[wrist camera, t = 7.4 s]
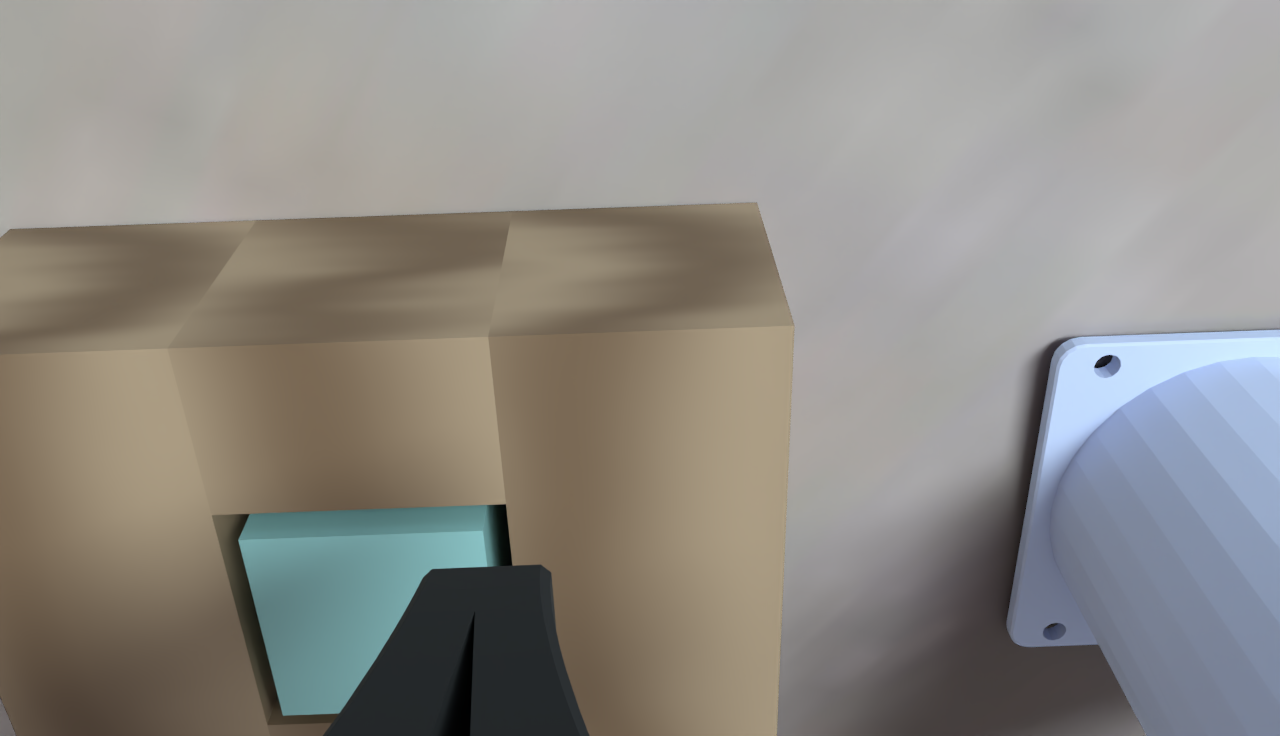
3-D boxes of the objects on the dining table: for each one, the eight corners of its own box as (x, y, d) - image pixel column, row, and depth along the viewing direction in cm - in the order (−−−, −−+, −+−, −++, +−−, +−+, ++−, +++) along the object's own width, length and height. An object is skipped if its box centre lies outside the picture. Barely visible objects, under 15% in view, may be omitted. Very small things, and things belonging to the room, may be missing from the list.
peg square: (506, 377, 23) (483, 531, 19) (522, 535, 25) (504, 707, 21) (307, 384, 23) (238, 539, 19) (339, 542, 25) (282, 715, 21)
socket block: (757, 202, 22) (794, 326, 17) (739, 932, 32) (760, 1120, 28) (10, 229, 21) (-142, 359, 17) (244, 952, 32) (188, 1144, 28)
